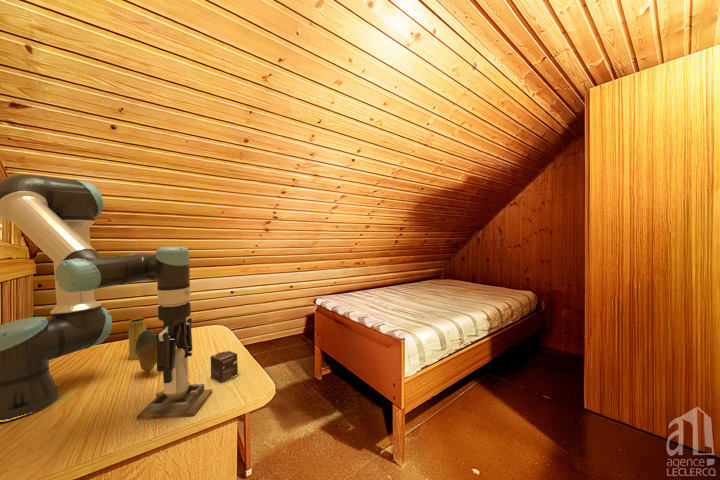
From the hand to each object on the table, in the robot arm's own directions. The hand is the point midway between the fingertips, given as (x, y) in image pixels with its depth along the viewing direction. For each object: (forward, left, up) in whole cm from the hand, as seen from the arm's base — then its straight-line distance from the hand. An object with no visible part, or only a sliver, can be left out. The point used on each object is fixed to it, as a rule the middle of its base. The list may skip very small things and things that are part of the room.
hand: (176, 386), depth 80 cm
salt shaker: (0, 0, -3) cm, 3 cm away
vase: (-32, +34, -6) cm, 47 cm away
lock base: (0, 0, -5) cm, 5 cm away
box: (+7, +15, -6) cm, 18 cm away
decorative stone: (-19, +19, -6) cm, 27 cm away
